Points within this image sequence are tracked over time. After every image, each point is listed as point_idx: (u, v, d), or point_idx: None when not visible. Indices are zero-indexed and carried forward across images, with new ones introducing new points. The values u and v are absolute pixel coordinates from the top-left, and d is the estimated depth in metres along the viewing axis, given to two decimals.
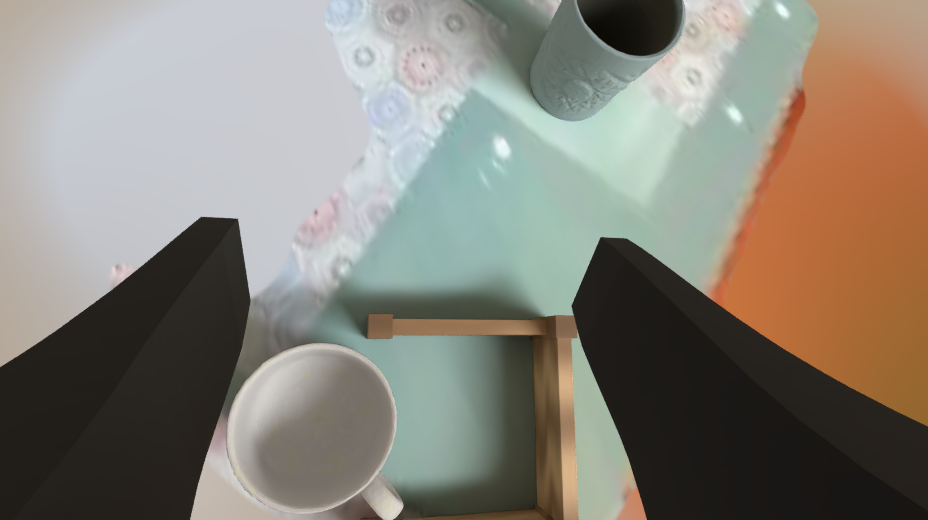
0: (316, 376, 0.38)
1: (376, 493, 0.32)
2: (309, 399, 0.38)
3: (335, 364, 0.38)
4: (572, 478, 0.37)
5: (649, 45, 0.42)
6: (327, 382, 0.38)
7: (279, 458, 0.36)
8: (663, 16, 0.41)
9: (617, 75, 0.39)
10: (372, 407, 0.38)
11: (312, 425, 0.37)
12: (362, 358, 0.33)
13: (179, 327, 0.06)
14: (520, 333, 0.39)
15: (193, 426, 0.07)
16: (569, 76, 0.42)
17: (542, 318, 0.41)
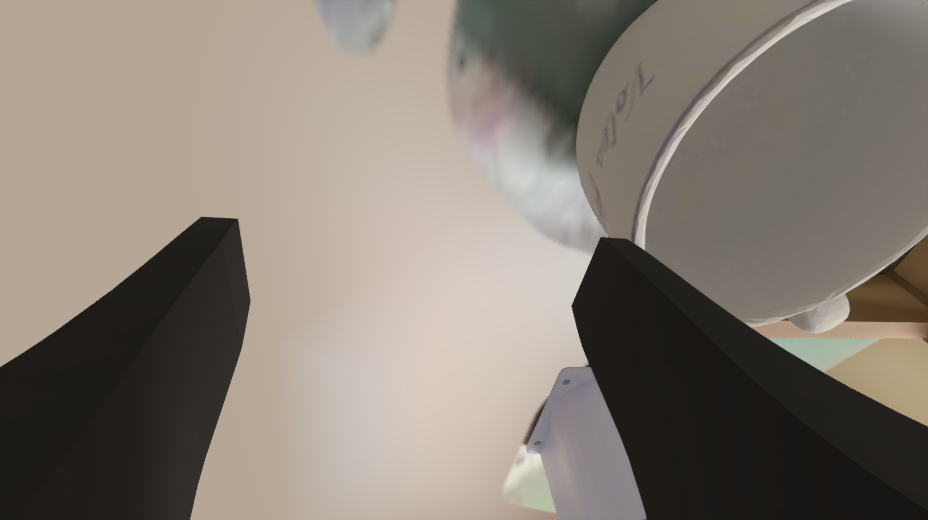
0: None
1: (833, 306, 0.17)
2: None
3: None
4: None
5: None
6: None
7: None
8: None
9: None
10: (794, 112, 0.19)
11: None
12: None
13: (179, 327, 0.06)
14: None
15: (193, 426, 0.07)
16: None
17: None
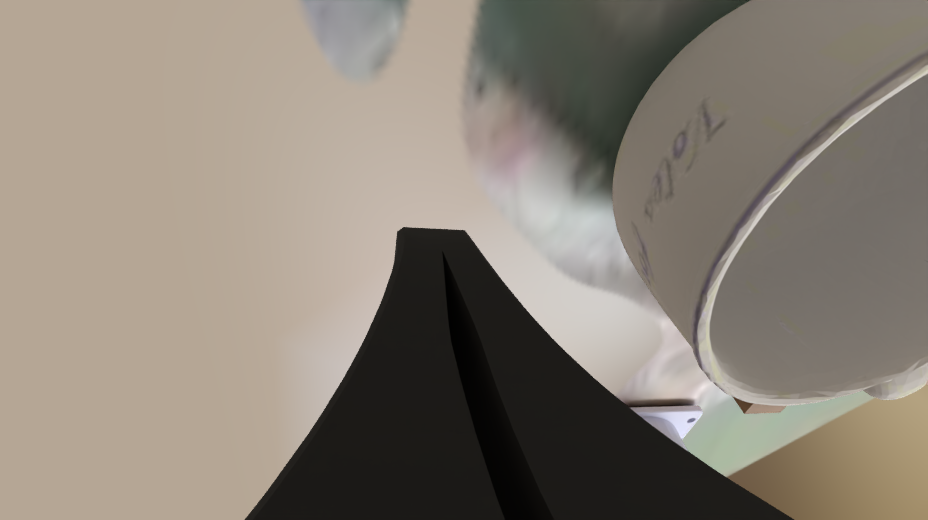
0: None
1: (912, 374, 0.15)
2: None
3: None
4: None
5: None
6: None
7: None
8: None
9: None
10: (860, 145, 0.16)
11: None
12: None
13: None
14: None
15: None
16: None
17: None
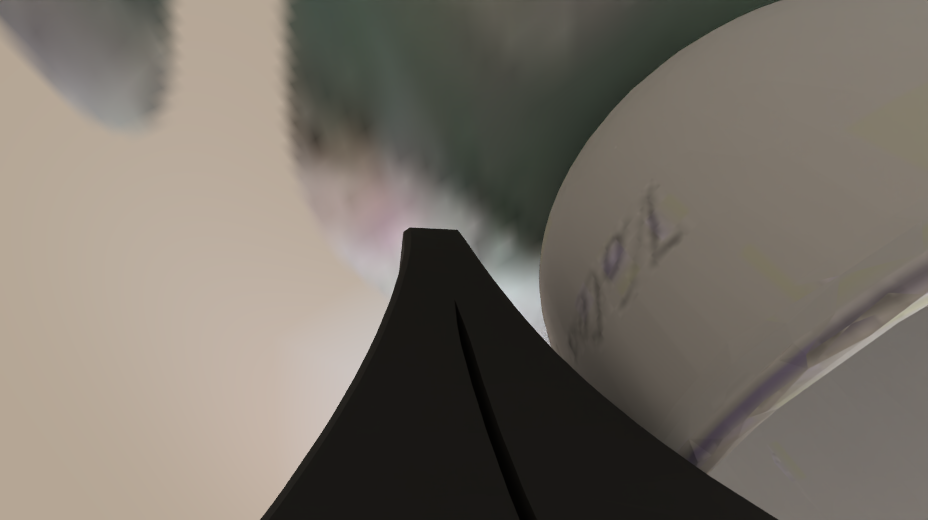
0: None
1: None
2: None
3: None
4: None
5: None
6: None
7: None
8: None
9: None
10: None
11: None
12: None
13: None
14: None
15: None
16: None
17: None
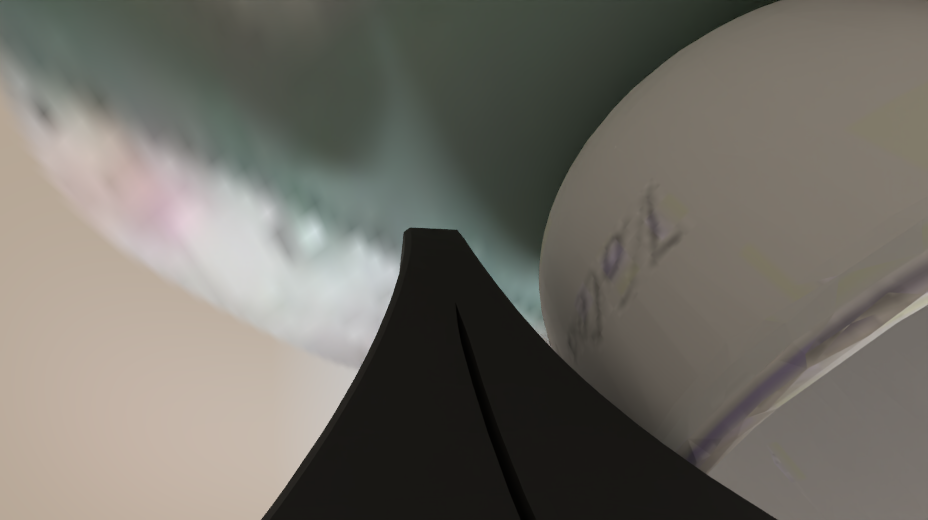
0: None
1: None
2: None
3: None
4: None
5: None
6: None
7: None
8: None
9: None
10: None
11: None
12: None
13: None
14: None
15: None
16: None
17: None
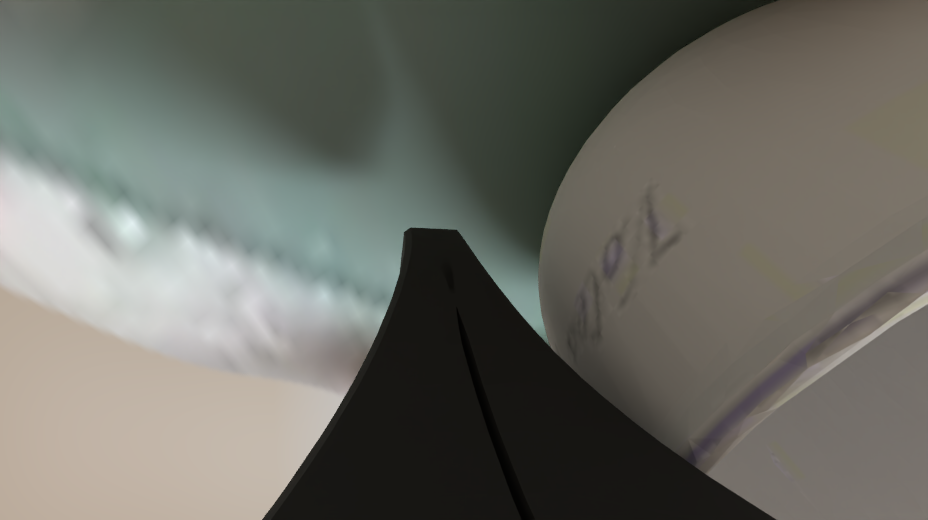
0: None
1: None
2: None
3: None
4: None
5: None
6: None
7: None
8: None
9: None
10: None
11: None
12: None
13: None
14: None
15: None
16: None
17: None
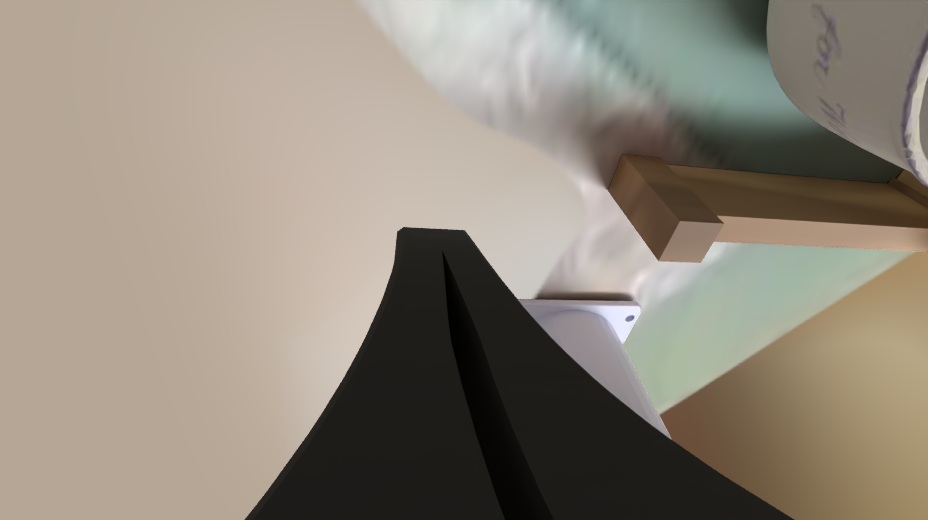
0: None
1: None
2: None
3: None
4: None
5: None
6: None
7: None
8: None
9: None
10: None
11: None
12: None
13: None
14: None
15: None
16: None
17: None
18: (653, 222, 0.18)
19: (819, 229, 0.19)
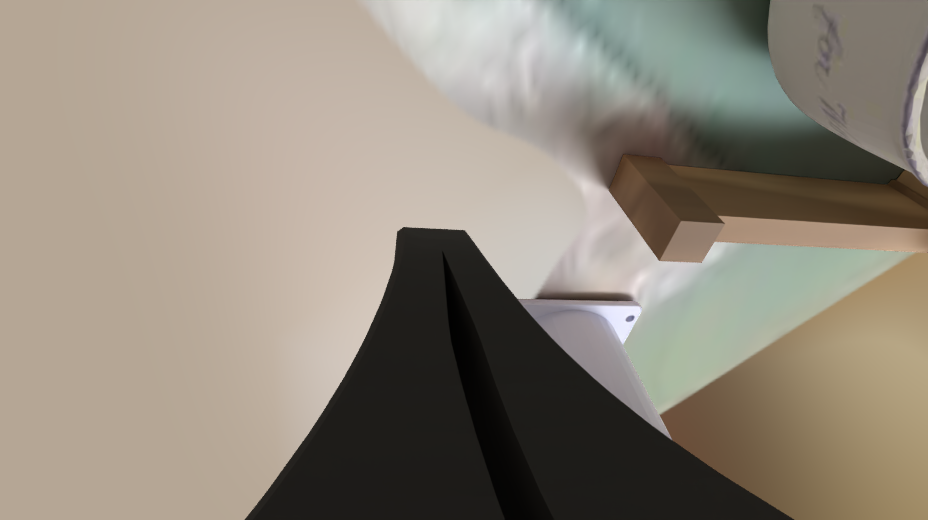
0: None
1: None
2: None
3: None
4: None
5: None
6: None
7: None
8: None
9: None
10: None
11: None
12: None
13: None
14: None
15: None
16: None
17: None
18: (654, 222, 0.18)
19: (820, 229, 0.19)
